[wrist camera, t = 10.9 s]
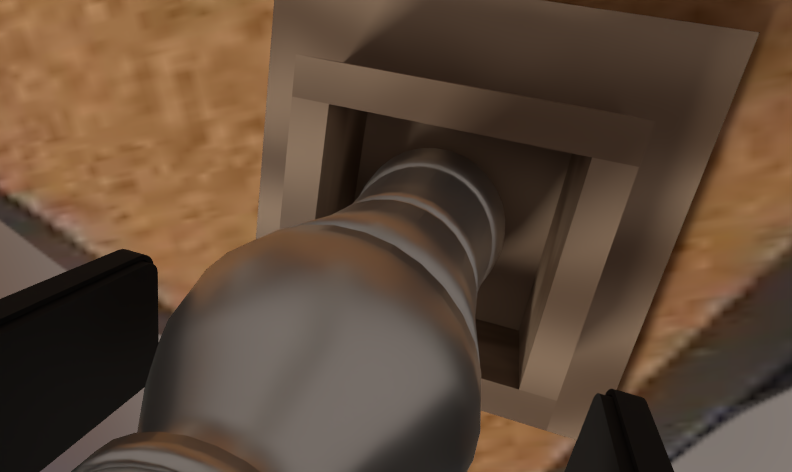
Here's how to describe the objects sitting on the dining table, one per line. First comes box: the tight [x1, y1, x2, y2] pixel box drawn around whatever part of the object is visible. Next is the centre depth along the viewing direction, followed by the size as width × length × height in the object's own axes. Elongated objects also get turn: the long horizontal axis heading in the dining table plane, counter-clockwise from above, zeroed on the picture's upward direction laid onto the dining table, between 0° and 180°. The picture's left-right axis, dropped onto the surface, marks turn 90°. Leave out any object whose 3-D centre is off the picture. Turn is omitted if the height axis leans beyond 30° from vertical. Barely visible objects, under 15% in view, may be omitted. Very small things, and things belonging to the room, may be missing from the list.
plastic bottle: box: [71, 148, 505, 472], centre depth 13 cm, size 6×7×20 cm
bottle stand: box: [256, 0, 760, 440], centre depth 21 cm, size 20×20×6 cm
